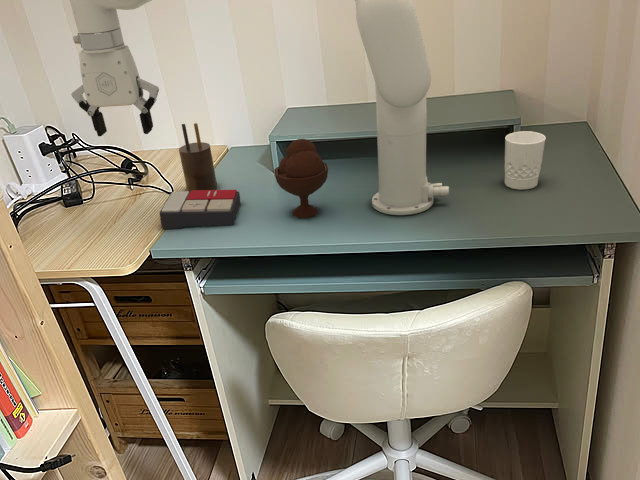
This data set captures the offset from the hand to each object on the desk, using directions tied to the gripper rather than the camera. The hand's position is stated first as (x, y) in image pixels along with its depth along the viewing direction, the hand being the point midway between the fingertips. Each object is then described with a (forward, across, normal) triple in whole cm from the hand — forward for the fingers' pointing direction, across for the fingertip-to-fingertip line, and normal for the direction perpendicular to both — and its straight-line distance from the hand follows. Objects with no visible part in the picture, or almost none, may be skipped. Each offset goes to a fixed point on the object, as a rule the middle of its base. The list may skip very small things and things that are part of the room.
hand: (125, 133), depth 128 cm
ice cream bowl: (+19, +34, 0) cm, 39 cm away
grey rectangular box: (+19, +12, 0) cm, 22 cm away
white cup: (+18, +80, +11) cm, 82 cm away
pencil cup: (+18, +8, +15) cm, 25 cm away
